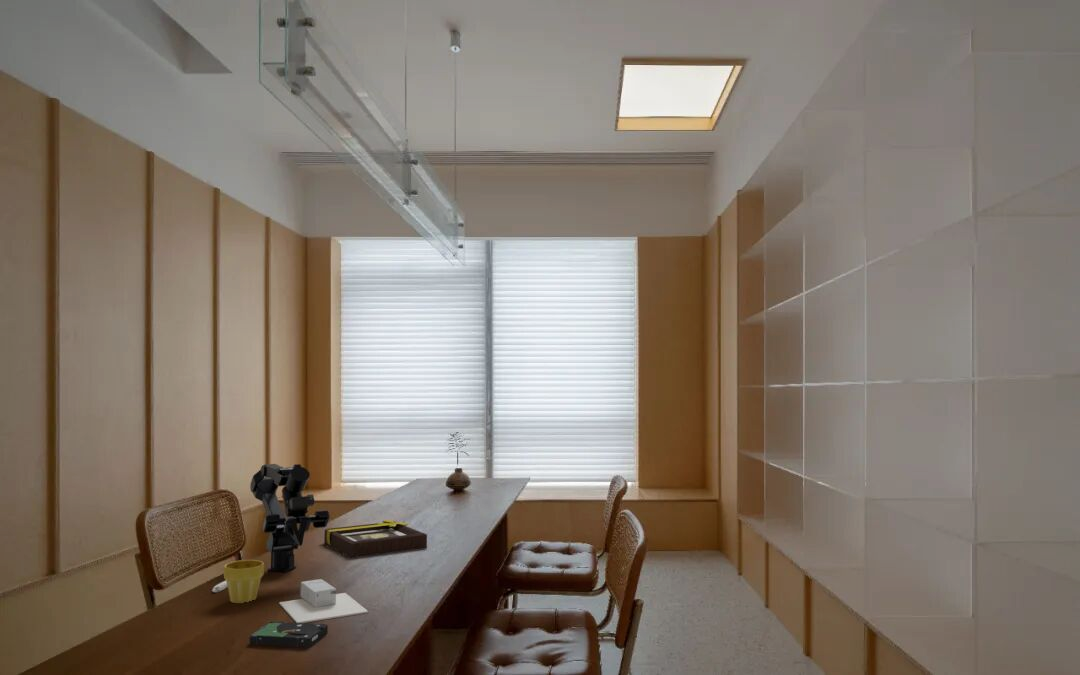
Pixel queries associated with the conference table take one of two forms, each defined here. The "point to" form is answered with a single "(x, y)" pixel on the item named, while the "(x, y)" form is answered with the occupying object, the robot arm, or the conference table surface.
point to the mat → (322, 609)
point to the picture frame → (375, 538)
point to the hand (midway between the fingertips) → (300, 544)
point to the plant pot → (243, 579)
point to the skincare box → (318, 593)
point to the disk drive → (289, 634)
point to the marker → (220, 587)
